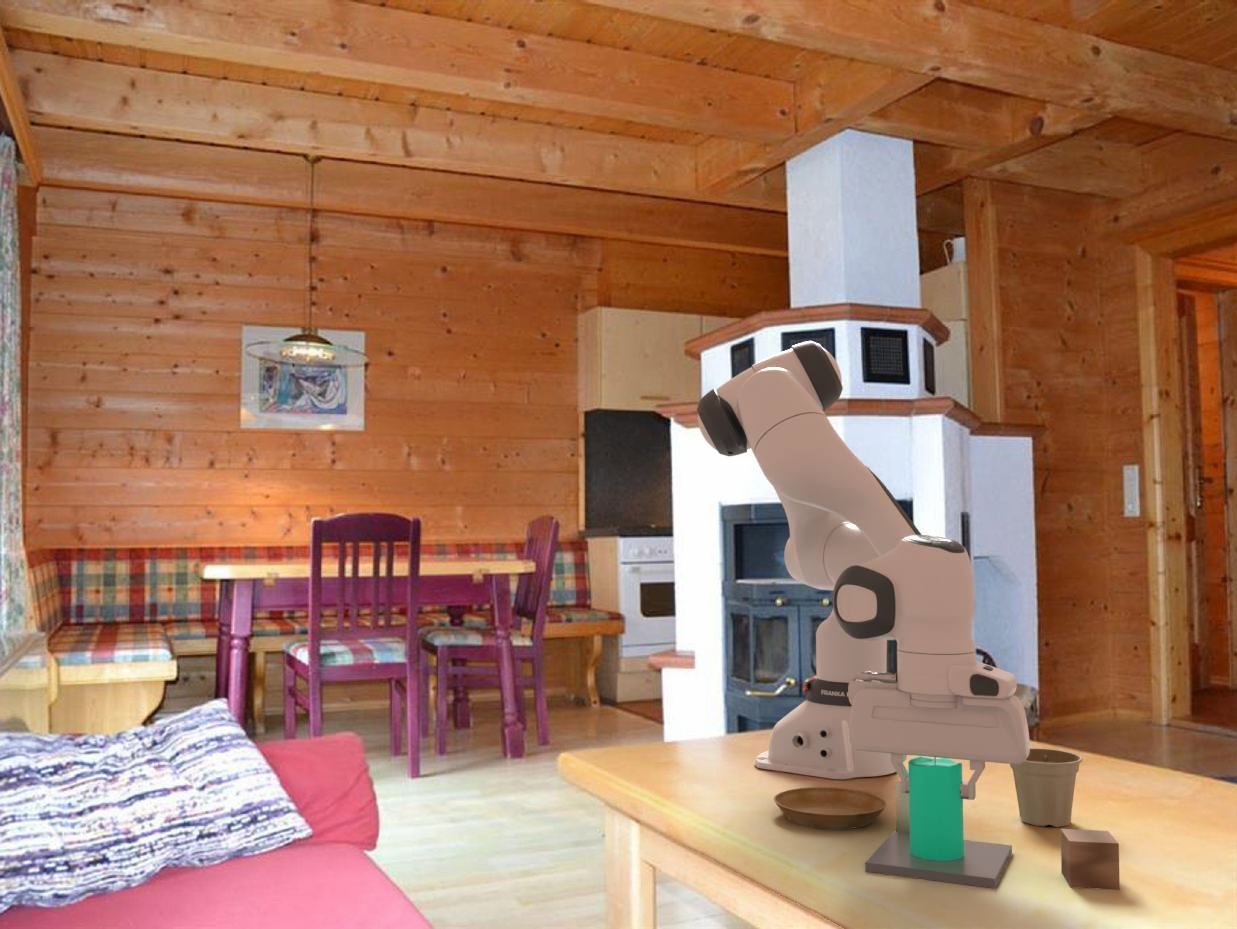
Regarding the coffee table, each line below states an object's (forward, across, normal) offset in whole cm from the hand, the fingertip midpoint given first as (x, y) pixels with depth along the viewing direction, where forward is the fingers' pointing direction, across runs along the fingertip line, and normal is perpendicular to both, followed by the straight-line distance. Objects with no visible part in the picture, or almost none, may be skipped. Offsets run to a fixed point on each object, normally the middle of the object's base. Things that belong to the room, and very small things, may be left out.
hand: (938, 795), depth 132 cm
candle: (+7, 0, 0) cm, 7 cm away
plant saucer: (+8, -17, +14) cm, 23 cm away
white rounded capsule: (+8, -5, +11) cm, 15 cm away
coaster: (+8, 0, 0) cm, 8 cm away
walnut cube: (+8, +16, 0) cm, 18 cm away
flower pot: (+8, +9, +24) cm, 27 cm away
